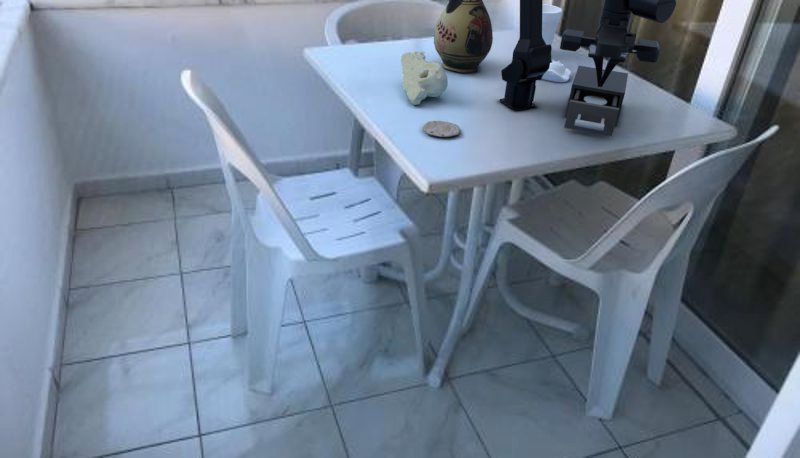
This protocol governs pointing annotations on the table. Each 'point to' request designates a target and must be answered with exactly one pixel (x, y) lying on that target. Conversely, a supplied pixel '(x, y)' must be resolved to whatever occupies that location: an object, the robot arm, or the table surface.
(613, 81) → the mini drawer cabinet
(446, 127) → the flatbread
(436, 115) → the table surface
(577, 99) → the drawer
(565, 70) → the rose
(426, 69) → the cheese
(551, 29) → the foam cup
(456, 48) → the ceramic jug
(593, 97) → the coffee pod
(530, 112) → the table surface
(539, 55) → the robot arm
